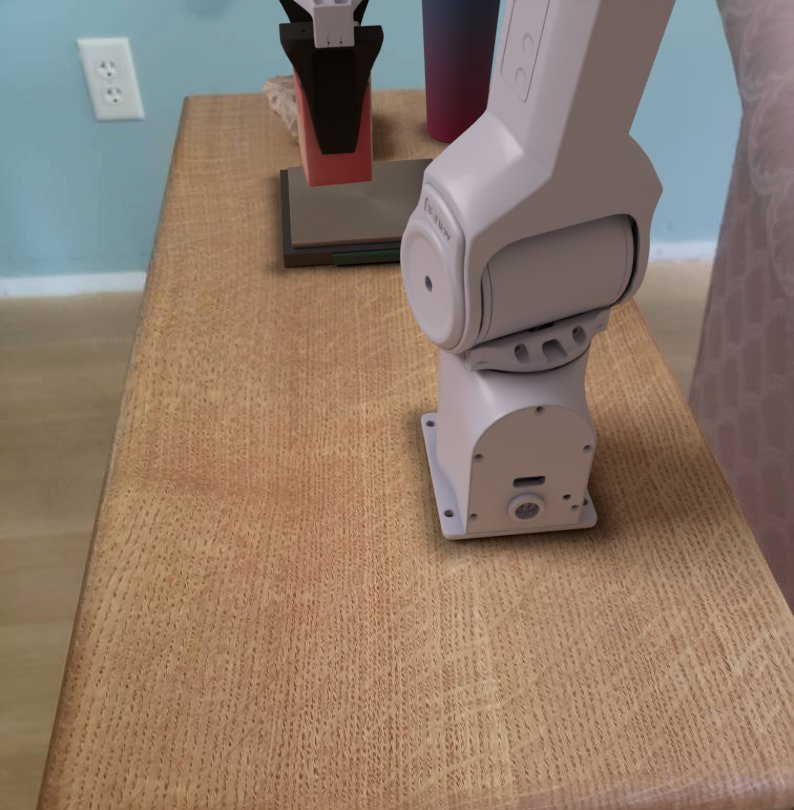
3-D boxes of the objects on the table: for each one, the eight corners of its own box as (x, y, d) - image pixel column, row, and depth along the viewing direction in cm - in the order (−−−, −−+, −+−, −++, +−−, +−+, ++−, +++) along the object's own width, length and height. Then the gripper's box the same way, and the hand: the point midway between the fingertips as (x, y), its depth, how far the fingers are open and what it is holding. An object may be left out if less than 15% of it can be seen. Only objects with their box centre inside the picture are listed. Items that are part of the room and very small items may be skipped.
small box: (299, 154, 57) (286, 23, 51) (363, 148, 58) (357, 18, 52) (308, 190, 54) (295, 54, 48) (375, 183, 54) (371, 48, 48)
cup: (465, 155, 72) (476, -54, 61) (401, 134, 75) (400, -69, 64) (509, 126, 76) (526, -75, 65) (446, 108, 79) (452, -89, 67)
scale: (465, 258, 61) (466, 239, 60) (284, 270, 60) (282, 251, 59) (439, 171, 70) (440, 153, 69) (280, 181, 69) (278, 163, 68)
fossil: (349, 72, 77) (386, 62, 68) (355, 151, 79) (392, 151, 71) (253, 77, 74) (279, 67, 66) (263, 159, 77) (289, 159, 68)
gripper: (241, -165, 48) (270, 88, 58) (238, -100, 39) (273, 189, 49) (365, -169, 49) (372, 82, 59) (392, -106, 39) (395, 181, 49)
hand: (335, 130), depth 54 cm, fingers closed on small box, 5 cm apart
